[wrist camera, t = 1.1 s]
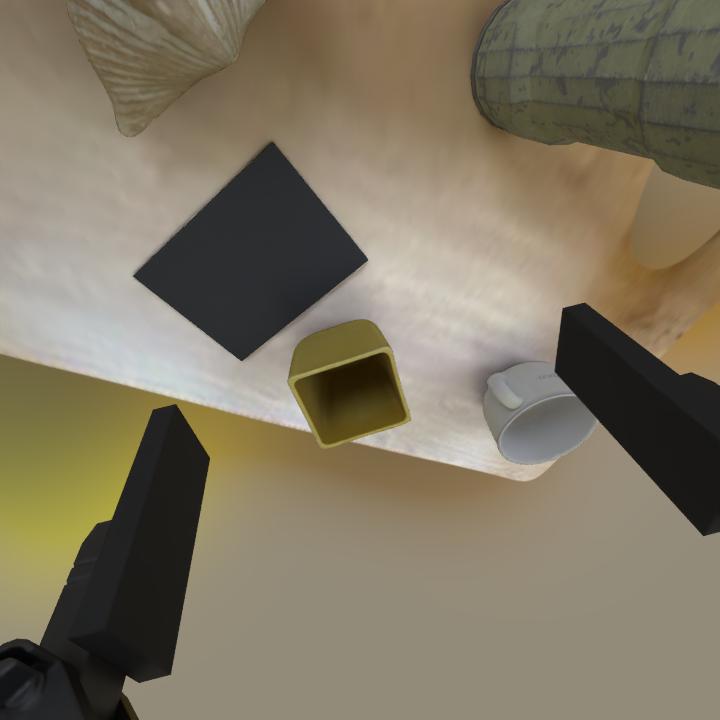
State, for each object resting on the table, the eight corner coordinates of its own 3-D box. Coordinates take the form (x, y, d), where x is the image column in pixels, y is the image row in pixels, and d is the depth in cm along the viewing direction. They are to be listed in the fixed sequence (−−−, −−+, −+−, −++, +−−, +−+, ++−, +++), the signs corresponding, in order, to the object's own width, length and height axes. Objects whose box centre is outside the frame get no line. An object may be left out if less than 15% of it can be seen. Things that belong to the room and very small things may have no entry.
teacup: (570, 386, 50) (613, 432, 44) (494, 432, 53) (523, 482, 47) (528, 312, 43) (572, 355, 36) (442, 369, 46) (468, 418, 39)
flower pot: (284, 323, 39) (285, 380, 32) (370, 295, 39) (391, 346, 32) (315, 389, 44) (321, 451, 37) (391, 364, 44) (413, 422, 37)
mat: (134, 274, 34) (132, 276, 34) (272, 141, 30) (272, 142, 30) (241, 359, 41) (241, 361, 40) (367, 258, 37) (368, 260, 36)
